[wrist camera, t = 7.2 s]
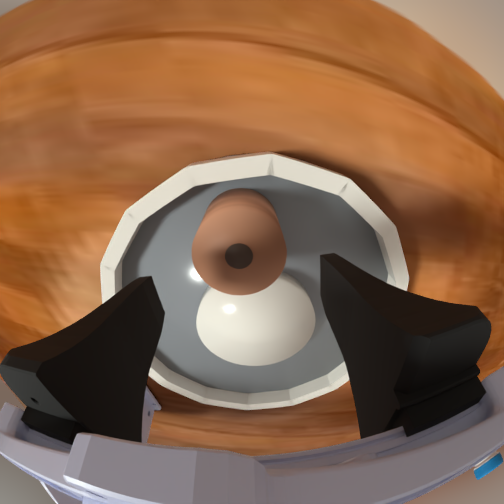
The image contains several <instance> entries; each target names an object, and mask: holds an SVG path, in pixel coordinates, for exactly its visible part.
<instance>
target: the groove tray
mask: <svg viewBox="0 0 504 504" xmlns="http://www.w3.org/2000/svg"><path fill="white" fill-rule="evenodd" d="M235 188H246V189H251V190H254V191H257V192H259V193H260V194H262V195H263V196H265V197H266V198H267V199H268V200H269V201H270V202H271V204H272V205H273V207H274V209H275V212H276V215H277V218H278V221H279V224H280V227H281V230H282V233H283V237H284V240H285V243H286V248H287V258H286V263H285V267H284V269H283V271H282V273H281V274H280V276H279V277H278V278H277V280H276V281H275V282H274V283H273V284H271V285H270V286H269V287H267V288H266V289H264V290H262V291H259V292H257V293H254V294H249V295H230V294H226V293H222V292H220V291H217V290H216V289H214V288H212V287H211V286H209V285H208V284H207V283H205V282H204V281H203V280H202V278H201V277H200V276H199V274H198V273H197V271H196V269H195V267H194V264H193V261H192V244H193V240H194V237H195V235H196V233H197V231H198V228H199V226H200V224H201V221H202V219H203V217H204V215H205V212H206V210H207V208H208V206H209V205H210V203H211V202H212V201H213V199H214V198H216V197H217V196H218V195H219V194H221V193H223V192H225V191H227V190H230V189H235ZM330 253H335V254H337V255H339V256H341V257H343V258H344V259H346V260H347V261H349V262H351V263H352V264H354V265H355V266H357V267H359V268H360V269H362V270H364V271H365V272H367V273H369V274H371V275H373V276H374V277H376V278H378V279H380V280H382V281H384V282H386V283H388V284H390V285H393V286H395V287H398V288H400V289H402V290H405V291H407V288H408V282H409V275H408V270H407V266H406V262H405V258H404V254H403V250H402V246H401V243H400V239H399V235H398V232H397V228H396V226H395V225H394V224H393V223H392V221H391V220H390V219H389V218H388V217H387V216H386V215H385V214H384V213H383V212H382V211H381V210H380V208H379V207H378V206H377V205H376V204H375V203H374V202H373V201H372V200H371V199H370V198H369V197H368V196H367V195H366V194H365V193H364V192H363V191H362V190H361V189H360V188H359V187H358V186H357V185H356V184H355V183H354V182H353V181H352V180H351V179H349V178H348V177H346V176H344V175H342V174H340V173H337V172H334V171H332V170H329V169H326V168H323V167H320V166H317V165H314V164H312V163H309V162H307V161H304V160H300V159H296V158H292V157H288V156H284V155H281V154H278V153H274V152H270V151H269V152H260V153H250V154H237V155H229V156H224V157H220V158H215V159H211V160H206V161H201V162H195V163H191V164H190V165H188V166H187V167H185V168H184V169H182V170H181V171H179V172H178V173H176V174H175V175H173V176H172V177H170V178H169V179H167V180H166V181H164V182H163V183H162V184H160V185H159V186H157V187H156V188H155V189H153V190H152V191H150V192H149V193H148V194H146V195H145V196H144V197H142V198H141V199H140V200H138V201H137V202H136V203H134V204H133V205H132V206H131V207H129V208H128V209H127V210H126V211H125V213H124V215H123V217H122V219H121V221H120V223H119V225H118V227H117V229H116V231H115V233H114V235H113V237H112V239H111V241H110V243H109V246H108V248H107V250H106V252H105V255H104V257H103V259H102V261H101V264H100V271H101V291H102V304H103V303H104V302H106V301H107V300H108V299H110V298H111V297H112V296H114V295H115V294H116V293H117V292H119V291H120V290H121V289H123V288H124V287H125V286H127V285H128V284H129V283H131V282H132V281H134V280H135V279H137V278H139V277H145V276H152V278H153V281H154V284H155V287H156V290H157V293H158V295H159V298H160V301H161V303H162V306H163V309H164V311H165V317H164V323H163V328H162V333H161V336H160V339H159V342H158V346H157V349H156V352H155V355H154V358H153V361H152V364H151V368H150V371H149V376H150V377H151V378H152V379H154V380H155V381H156V382H157V383H158V384H160V385H161V386H163V387H166V388H168V389H170V390H172V391H174V392H176V393H179V394H181V395H183V396H186V397H188V398H190V399H193V400H195V401H198V402H200V403H203V404H208V405H214V406H220V407H227V408H234V409H242V410H256V409H267V408H277V407H285V406H293V405H296V404H299V403H302V402H304V401H307V400H310V399H313V398H315V397H318V396H321V395H323V394H326V393H328V392H331V391H333V390H335V389H337V388H339V387H340V386H341V385H343V384H344V383H346V382H347V381H349V380H350V379H349V376H348V372H347V368H346V364H345V361H344V358H343V355H342V353H341V350H340V348H339V345H338V343H337V341H336V338H335V336H334V334H333V331H332V329H331V326H330V324H329V322H328V319H327V317H326V314H325V311H324V307H323V304H322V300H321V296H320V255H322V254H330Z"/></svg>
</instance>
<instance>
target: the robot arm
mask: <svg viewBox="0 0 504 504" xmlns="http://www.w3.org/2000/svg"><path fill="white" fill-rule="evenodd" d="M320 296H321V300H322V304H323V307H324V311H325V314H326V317H327V319H328V322H329V324H330V326H331V329H332V331H333V334H334V336H335V338H336V341H337V343H338V345H339V348H340V350H341V353H342V355H343V358H344V361H345V364H346V368H347V372H348V376H349V379H350V384H351V388H352V392H353V397H354V401H355V406H356V412H357V417H358V423H359V429H360V436H361V439H359V440H355V441H351V442H347V443H343V444H338V445H334V446H329V447H324V448H319V449H313V450H307V451H300V452H293V453H285V454H276V455H265V456H248V455H243V454H239V453H235V452H231V451H226V450H214V449H204V448H190V447H175V446H164V445H155V444H147V440H148V436H149V431H150V427H151V423H152V418H153V414H154V410H161V406H160V404H159V403H158V402H157V400H156V399H155V397H154V396H153V394H152V393H151V392H150V390H149V389H148V387H147V386H146V384H147V379H148V375H149V371H150V368H151V364H152V361H153V358H154V355H155V352H156V349H157V346H158V342H159V339H160V336H161V333H162V328H163V323H164V317H165V311H164V309H163V306H162V303H161V301H160V298H159V295H158V293H157V290H156V287H155V284H154V281H153V278H152V276H145V277H139V278H137V279H135V280H134V281H132V282H131V283H129V284H128V285H127V286H125V287H124V288H123V289H121V290H120V291H119V292H117V293H116V294H115V295H114V296H112V297H111V298H110V299H108V300H107V301H106V302H104V303H103V304H102V305H100V306H99V307H98V308H96V309H95V310H94V311H92V312H91V313H89V314H88V315H86V316H85V317H83V318H82V319H80V320H79V321H77V322H75V323H74V324H72V325H70V326H68V327H66V328H64V329H62V330H61V331H59V332H57V333H55V334H53V335H50V336H48V337H46V338H44V339H41V340H38V341H36V342H33V343H30V344H27V345H24V346H20V347H17V348H13V349H11V350H10V351H9V352H8V353H7V355H6V356H5V358H4V359H3V361H2V362H1V364H0V374H1V376H2V378H3V379H4V381H5V382H6V384H7V385H8V386H9V387H10V388H11V390H12V391H13V392H14V393H15V394H16V395H17V396H18V397H19V398H20V400H21V401H22V402H23V403H24V404H25V405H26V406H27V407H26V409H25V411H23V410H22V409H21V408H19V407H17V406H15V405H12V404H10V403H8V402H5V404H4V406H3V407H2V409H1V412H0V454H1V455H2V456H3V457H5V458H6V459H7V460H9V461H10V462H12V463H13V464H14V465H16V466H17V467H19V468H20V469H22V470H23V471H25V472H26V473H28V474H29V475H31V476H33V477H34V478H36V479H38V480H40V482H41V484H42V485H43V487H44V488H45V489H46V491H47V492H48V493H49V495H50V496H51V497H52V498H53V500H54V501H55V503H56V504H403V503H405V502H408V501H410V500H413V499H415V498H417V497H419V496H421V495H424V494H426V493H428V492H430V491H431V490H434V489H436V488H438V487H439V486H441V485H443V484H445V483H447V482H448V481H450V480H452V479H454V478H456V477H457V476H459V475H461V474H462V473H464V472H465V471H467V470H469V469H470V468H472V467H473V466H475V465H476V464H478V463H479V462H481V461H482V460H484V459H485V458H487V457H488V456H489V455H491V454H492V453H494V452H495V451H496V450H497V449H499V448H500V447H501V446H502V445H504V366H503V367H501V368H500V369H498V370H497V371H495V372H493V373H492V374H490V375H489V376H487V377H486V378H485V379H484V380H483V381H482V382H480V380H479V379H478V377H477V376H478V375H479V373H480V369H479V368H478V366H477V365H476V363H477V361H478V359H479V358H480V356H481V354H482V352H483V350H484V349H485V347H486V345H487V343H488V340H489V338H490V334H491V323H490V321H489V320H488V319H487V318H486V317H485V315H484V314H483V313H482V312H481V311H480V310H479V308H478V307H477V306H470V305H462V304H453V303H448V302H443V301H438V300H434V299H430V298H426V297H423V296H420V295H417V294H413V293H410V292H408V291H405V290H402V289H400V288H398V287H395V286H393V285H390V284H388V283H386V282H384V281H382V280H380V279H378V278H376V277H374V276H373V275H371V274H369V273H367V272H365V271H364V270H362V269H360V268H359V267H357V266H355V265H354V264H352V263H351V262H349V261H347V260H346V259H344V258H343V257H341V256H339V255H337V254H335V253H330V254H322V255H320Z"/></svg>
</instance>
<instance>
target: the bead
mask: <svg viewBox="0 0 504 504" xmlns="http://www.w3.org/2000/svg"><path fill="white" fill-rule="evenodd" d="M286 258H287V248H286V243H285V240H284V237H283V233H282V230H281V227H280V224H279V221H278V218H277V215H276V212H275V209H274V207H273V205H272V204H271V202H270V201H269V200H268V199H267V198H266V197H265V196H263V195H262V194H260V193H259V192H257V191H254V190H251V189H246V188H235V189H230V190H227V191H225V192H223V193H221V194H219V195H218V196H217V197H216V198H214V199H213V201H212V202H211V203H210V205H209V206H208V208H207V210H206V212H205V215H204V217H203V219H202V221H201V224H200V226H199V228H198V231H197V233H196V235H195V237H194V240H193V244H192V261H193V264H194V267H195V269H196V271H197V273H198V274H199V276H200V277H201V278H202V280H203V281H204V282H205V283H207V284H208V285H209V286H211V287H212V288H214V289H216V290H217V291H220V292H222V293H226V294H230V295H249V294H254V293H257V292H259V291H262V290H264V289H266V288H267V287H269V286H270V285H271V284H273V283H274V282H275V281H276V280H277V278H278V277H279V276H280V274H281V273H282V271H283V269H284V267H285V263H286Z"/></svg>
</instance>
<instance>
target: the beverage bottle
mask: <svg viewBox="0 0 504 504" xmlns="http://www.w3.org/2000/svg"><path fill="white" fill-rule="evenodd" d="M502 462H503V458H502V456H501V454H500V452H497V453H496V451H495V452H494V453H492V454H491V455H489V456H488V457H487V458H485V459H484V460H482V461H481V462H479V463H478V464H476V465H475V467H476V468H475V469H474V474H475V476H476V478H477V480H478V479H480V478H482V477H484V476H485V475H487V474H488V473H489V472H491V471H492V470H494V469H495V468H496V467H498V466H499V465H500V464H501V463H502Z"/></svg>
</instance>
